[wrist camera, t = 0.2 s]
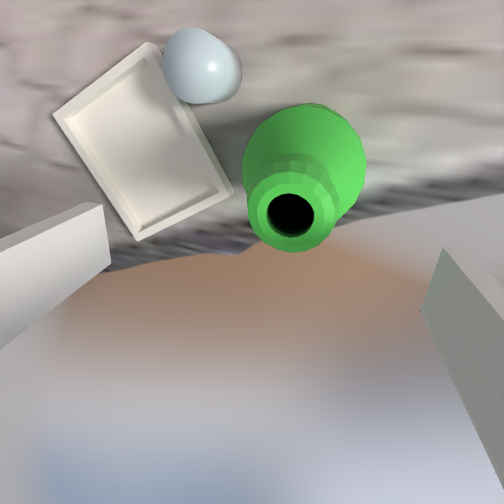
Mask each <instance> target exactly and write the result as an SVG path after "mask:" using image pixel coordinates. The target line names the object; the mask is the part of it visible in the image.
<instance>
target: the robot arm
mask: <svg viewBox="0 0 504 504" xmlns="http://www.w3.org/2000/svg"><path fill="white" fill-rule="evenodd" d="M110 264H111V259H110V252H109V245H108V239H107V232H106V225H105V219H104V212H103V205H102V204H97V203H89V202H84V203H82V204H80V205H78V206H75V207H73V208H71V209H68V210H66V211H64V212H61V213H59V214H57V215H54V216H52V217H50V218H47V219H45V220H43V221H40V222H38V223H36V224H34V225H31V226H29V227H27V228H24V229H22V230H20V231H17V232H15V233H13V234H10V235H8V236H6V237H3V238H1V239H0V349H1V348H3V347H4V346H5V345H7V344H8V343H9V342H10V341H12V340H13V339H14V338H16V337H17V336H18V335H19V334H21V333H22V332H23V331H25V330H26V329H27V328H28V327H30V326H31V325H32V324H34V323H35V322H36V321H37V320H39V319H40V318H41V317H43V316H44V315H45V314H47V313H48V312H49V311H50V310H52V309H53V308H54V307H55V306H57V305H58V304H59V303H61V302H62V301H63V300H65V299H66V298H67V297H68V296H70V295H71V294H72V293H74V292H75V291H76V290H77V289H79V288H80V287H81V286H82V285H84V284H85V283H86V282H88V281H89V280H90V279H92V278H93V277H94V276H95V275H97V274H98V273H99V272H101V271H102V270H103V269H104V268H106V267H107V266H108V265H110ZM420 312H421V314H422V316H423V318H424V320H425V322H426V325H427V327H428V329H429V331H430V333H431V335H432V337H433V339H434V342H435V344H436V346H437V348H438V350H439V352H440V354H441V357H442V359H443V361H444V363H445V365H446V367H447V369H448V371H449V374H450V376H451V378H452V380H453V382H454V384H455V386H456V388H457V391H458V393H459V395H460V397H461V399H462V401H463V403H464V405H465V408H466V410H467V412H468V414H469V416H470V418H471V420H472V423H473V425H474V427H475V429H476V431H477V433H478V435H479V438H480V440H481V442H482V444H483V446H484V448H485V450H486V452H487V454H488V457H489V459H490V461H491V463H492V465H493V467H494V469H495V472H496V474H497V476H498V478H499V480H500V482H501V484H502V487H503V489H504V288H503V287H502V286H501V285H500V284H499V283H498V282H497V281H496V280H495V279H494V278H493V277H492V276H491V275H490V274H489V273H488V272H487V271H486V270H485V269H484V268H483V267H482V266H481V265H480V264H479V263H478V261H476V259H474V257H473V256H472V255H471V254H470V253H469V252H468V251H467V250H463V249H454V248H447V247H443V248H442V251H441V254H440V257H439V259H438V262H437V265H436V268H435V271H434V273H433V276H432V279H431V282H430V285H429V288H428V291H427V293H426V296H425V299H424V302H423V305H422V307H421V310H420Z"/></svg>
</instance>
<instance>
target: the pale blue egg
mask: <svg viewBox="0 0 504 504" xmlns="http://www.w3.org/2000/svg"><path fill="white" fill-rule="evenodd" d="M162 69H163V74H164V78H165V81H166V83H167V85H168V86H169V88H170V90H171V91H172V92H173V93H174V94H175V95H176V96H177V97H178V98H180V99H181V100H183V101H185V102H188V103H193V104H200V103H221V102H225V101H227V100H229V99H230V98H232V97H233V96H234V95H235V93H236V92H237V90H238V89H239V86H240V84H241V80H242V66H241V62H240V59H239V57H238V55H237V53H236V52H235V51H234V50H233V48H232V47H230V46H229V45H228V44H226V43H224V42H223V41H221V40H219V39H218V38H216V37H214V36H212V35H211V34H209V33H207V32H206V31H204V30H201V29H198V28H185V29H182V30H180V31H178V32H176V33H175V34H174V35H173V36H172V37H171V38H170V39H169V41H168V42H167V44H166V46H165V49H164V52H163V57H162Z"/></svg>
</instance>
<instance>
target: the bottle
mask: <svg viewBox="0 0 504 504" xmlns="http://www.w3.org/2000/svg"><path fill="white" fill-rule="evenodd" d="M241 166H242V184H243V186H244V188H245V191H246V193H247V205H248V217H249V221H250V223H251V226H252V228H253V230H254V232H255V233H256V234H257V235H258V236H259V237H260V238H261V240H262V241H263V242H264V243H267V244H268V245H270V246H272V247H274V248H276V249H278V250H282V251H286V252H302V251H307V250H309V249H311V248H314V247H316V246H318V245H319V244H320V243H321V242H322V241H323V240H324V239H325V238H326V237H327V236H328V235H329V234H330V232H331V231H332V230H333V228H334V225H335V223H336V221H337V220H338V219H339V218H340V217H341V216H342V215H343V214H344V213H345V212H346V211H347V210H348V209H349V208H350V207H351V206H352V205H353V204H354V203H355V201H356V199H357V197H358V195H359V193H360V191H361V189H362V187H363V185H364V180H365V170H366V158H365V154H364V150H363V146H362V143H361V139H360V137H359V136H358V135H357V134H356V132H355V131H354V130H353V128H352V127H351V126H350V124H349V123H348V122H347V120H346V119H344V118H343V117H342V116H341V115H339V114H338V113H337V112H335V111H333V110H332V109H330V108H328V107H327V106H325V105H321V104H314V103H307V104H302V105H298V106H294V107H290V108H286V109H283V110H280V111H278V112H277V113H275V114H274V115H273V116H271V117H270V118H268V119H267V120H265V121H264V122H263V123H261V124H260V125H259V127H258V128H257V129H256V131H255V132H254V134H253V135H252V136H251V138H250V139H249V141H248V142H247V145H246V149H245V152H244V155H243V159H242V162H241Z"/></svg>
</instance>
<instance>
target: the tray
mask: <svg viewBox="0 0 504 504" xmlns="http://www.w3.org/2000/svg"><path fill="white" fill-rule="evenodd" d="M162 57H163V56H162V54H161V52H160V50H159V48H158V46H157V45H155V44H152V43H149V42H145V43H144V44H142V45H141V46H140V47H139V48H137V49H136V50H135V51H133V52H132V53H131V54H130V55H128V56H127V57H126V58H124V59H123V60H122V61H121V62H119V63H118V64H117V65H115V66H114V67H113V68H111V69H110V70H109V71H108V72H106V73H105V74H104V75H102V76H101V77H100V78H99V79H97V80H96V81H95V82H93V83H92V84H91V85H90V86H88V87H87V88H86V89H84V90H83V91H82V92H80V93H79V94H78V95H77V96H75V97H74V98H73V99H71V100H70V101H69V102H68V103H66V104H65V105H64V106H62V107H61V108H60V109H59V110H57V111H56V112H55V113H53V114H52V115H53V117H54V118H55V119H56V121H57V122H58V124H59V125H60V127H61V128H62V130H63V131H64V133H65V134H66V136H67V137H68V139H69V140H70V142H71V143H72V145H73V146H74V148H75V149H76V151H77V152H78V154H79V155H80V157H81V158H82V160H83V161H84V163H85V164H86V166H87V167H88V169H89V170H90V172H91V173H92V175H93V176H94V178H95V179H96V181H97V182H98V184H99V185H100V187H101V188H102V190H103V191H104V193H105V194H106V196H107V197H108V199H109V200H110V202H111V203H112V205H113V206H114V208H115V209H116V211H117V212H118V214H119V215H120V217H121V218H122V220H123V221H124V223H125V224H126V225H127V227H128V228H129V230H130V231H131V233H132V234H133V236H134V237H135V239H136V240H137V242H138V241H140V240H142V239H144V238H146V237H148V236H150V235H152V234H154V233H156V232H158V231H160V230H162V229H164V228H166V227H168V226H170V225H173V224H175V223H177V222H179V221H181V220H183V219H185V218H187V217H189V216H191V215H193V214H195V213H197V212H199V211H201V210H203V209H205V208H207V207H209V206H211V205H214V204H216V203H218V202H220V201H222V200H224V199H226V198H228V197H230V196H231V195H232V194H233V193H234V192H235V191H234V189H233V187H232V185H231V183H230V182H229V180H228V178H227V176H226V174H225V172H224V170H223V168H222V166H221V165H220V163H219V161H218V159H217V157H216V155H215V153H214V151H213V150H212V148H211V146H210V144H209V142H208V140H207V138H206V136H205V135H204V133H203V131H202V129H201V127H200V125H199V123H198V121H197V120H196V118H195V116H194V114H193V112H192V110H191V108H190V106H189V105H188V103H187V102H185V101H183V100H181V99H180V98H178V97H177V96H176V95H175V94H174V93H173V92H172V91H171V90H170V88H169V86H168V85H167V83H166V81H165V78H164V74H163V69H162Z"/></svg>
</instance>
